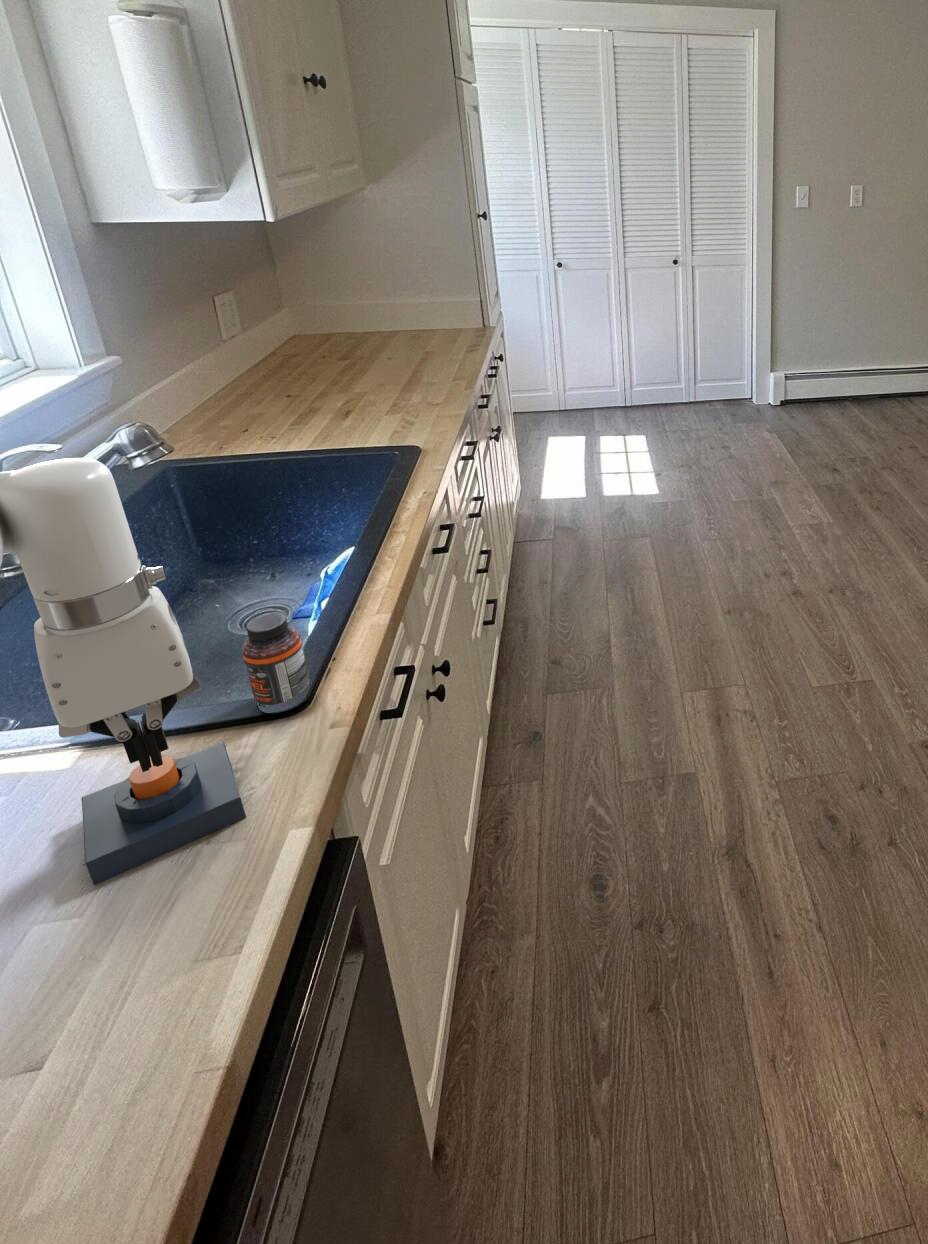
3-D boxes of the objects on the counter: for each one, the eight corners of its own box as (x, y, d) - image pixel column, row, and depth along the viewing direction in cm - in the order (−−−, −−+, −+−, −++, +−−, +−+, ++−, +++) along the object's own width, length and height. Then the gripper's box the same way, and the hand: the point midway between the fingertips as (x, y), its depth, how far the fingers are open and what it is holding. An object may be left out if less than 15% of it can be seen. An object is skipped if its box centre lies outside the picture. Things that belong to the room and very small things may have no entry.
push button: (136, 806, 75) (130, 789, 74) (133, 784, 77) (127, 767, 76) (181, 788, 77) (176, 771, 76) (177, 766, 79) (172, 750, 79)
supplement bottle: (244, 709, 93) (223, 628, 89) (289, 680, 98) (270, 602, 94) (281, 723, 91) (260, 640, 87) (324, 692, 96) (306, 612, 92)
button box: (93, 886, 71) (79, 848, 70) (89, 817, 78) (75, 782, 77) (246, 818, 78) (236, 782, 77) (229, 761, 86) (219, 727, 84)
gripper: (190, 554, 77) (234, 706, 83) (-18, 609, 68) (51, 775, 74) (201, 585, 71) (247, 746, 78) (-23, 650, 62) (51, 825, 69)
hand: (151, 760), depth 76 cm, fingers closed
